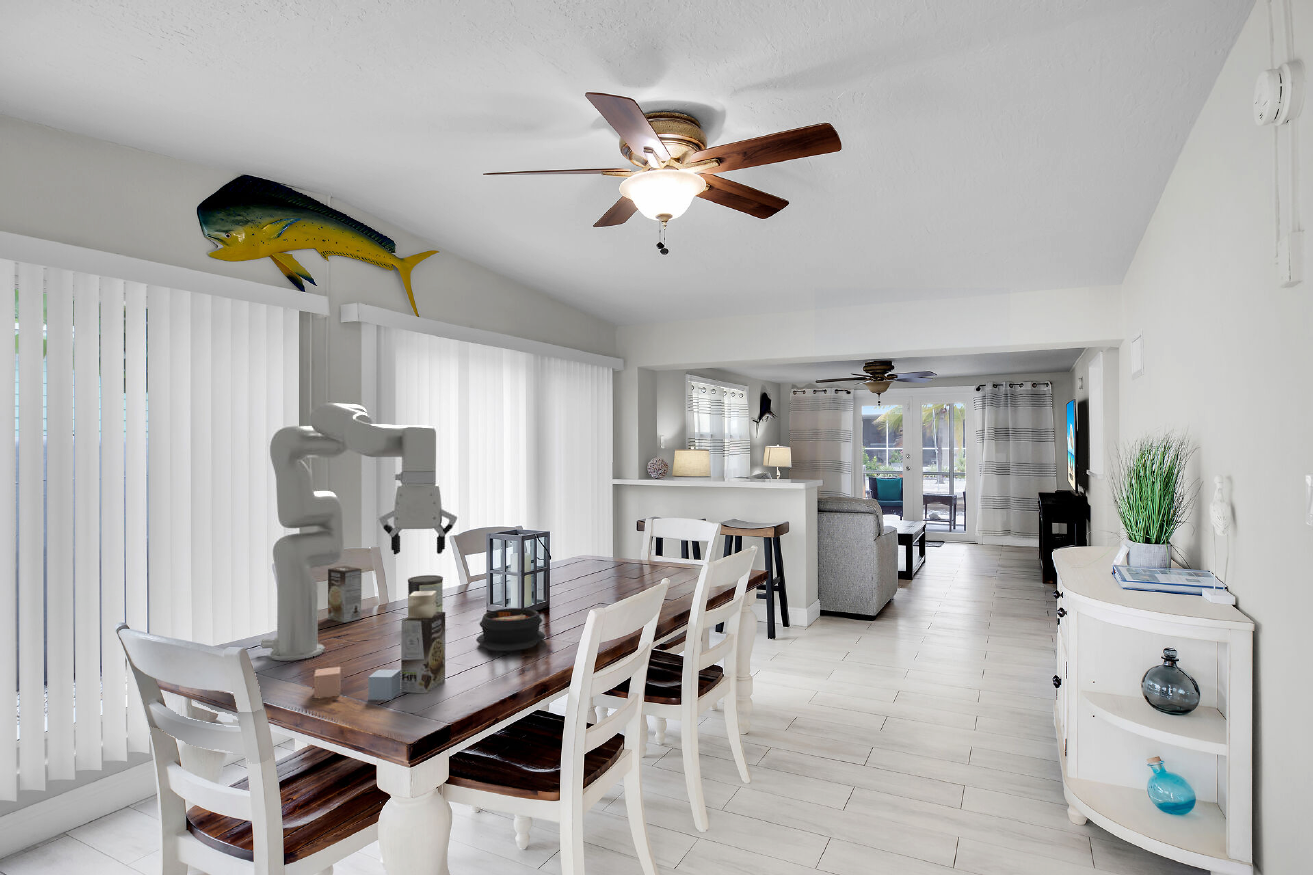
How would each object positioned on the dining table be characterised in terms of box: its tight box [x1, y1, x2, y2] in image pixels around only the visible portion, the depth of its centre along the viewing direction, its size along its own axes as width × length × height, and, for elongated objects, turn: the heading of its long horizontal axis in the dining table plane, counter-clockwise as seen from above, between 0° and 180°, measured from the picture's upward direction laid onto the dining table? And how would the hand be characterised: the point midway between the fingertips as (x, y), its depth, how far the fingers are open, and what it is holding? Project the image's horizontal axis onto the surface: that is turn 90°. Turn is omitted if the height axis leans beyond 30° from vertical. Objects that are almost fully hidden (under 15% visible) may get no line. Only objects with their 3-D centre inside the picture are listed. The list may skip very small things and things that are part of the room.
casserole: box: [475, 607, 546, 652], centre depth 193 cm, size 25×19×8 cm
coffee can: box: [407, 574, 444, 618], centre depth 216 cm, size 10×10×14 cm
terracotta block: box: [313, 666, 341, 699], centre depth 155 cm, size 5×5×5 cm
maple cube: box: [409, 591, 436, 618], centre depth 160 cm, size 5×5×5 cm
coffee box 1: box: [327, 565, 362, 623], centre depth 223 cm, size 9×6×16 cm
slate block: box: [367, 669, 402, 701], centre depth 154 cm, size 5×5×5 cm
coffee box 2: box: [400, 611, 447, 695], centre depth 160 cm, size 9×6×16 cm
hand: (418, 553), depth 163 cm, fingers open, 9 cm apart
